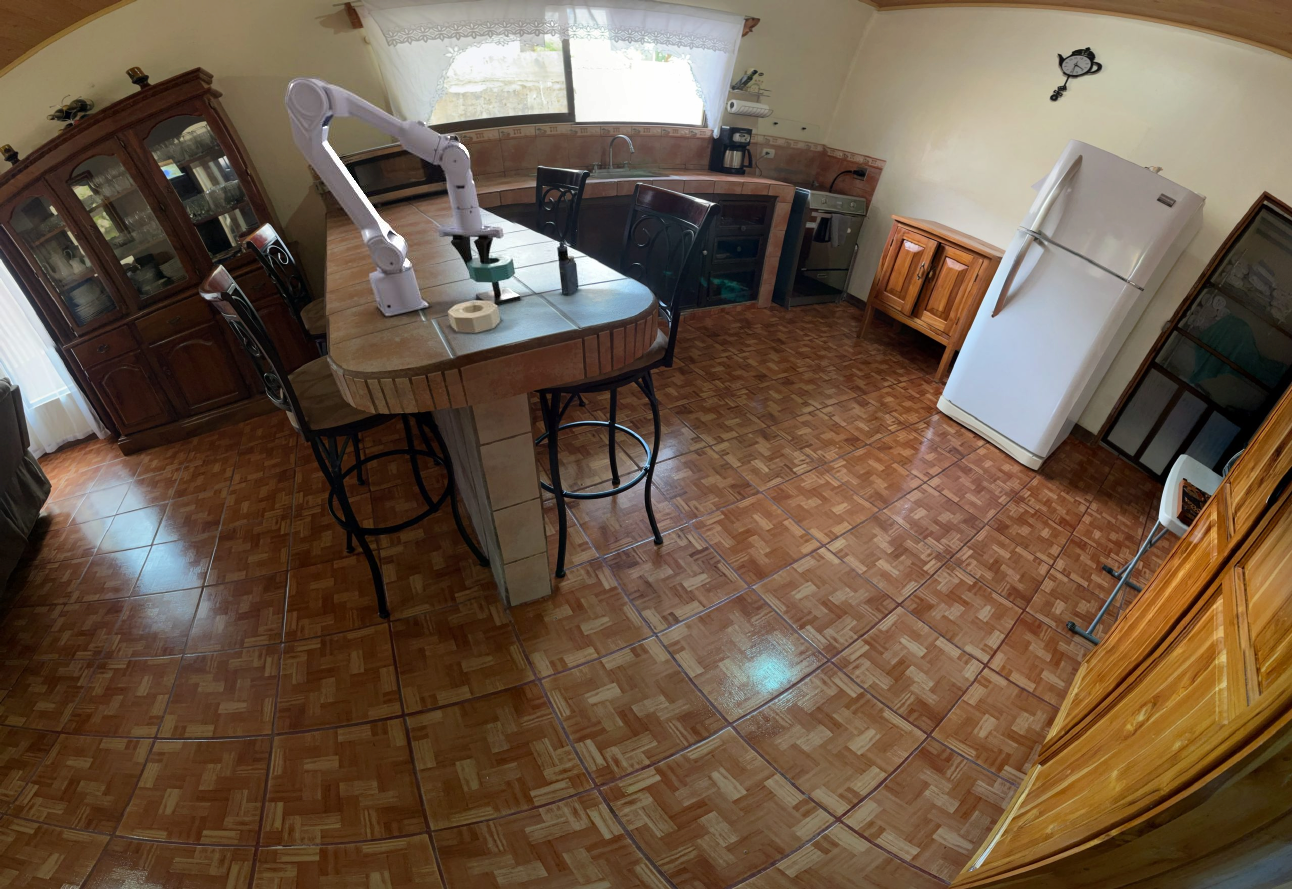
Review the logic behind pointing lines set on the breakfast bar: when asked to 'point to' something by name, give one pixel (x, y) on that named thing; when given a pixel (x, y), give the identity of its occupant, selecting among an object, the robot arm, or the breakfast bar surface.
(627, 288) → the breakfast bar surface
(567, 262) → the vaping device
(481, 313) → the cream ring
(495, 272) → the teal ring
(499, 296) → the peg stand
